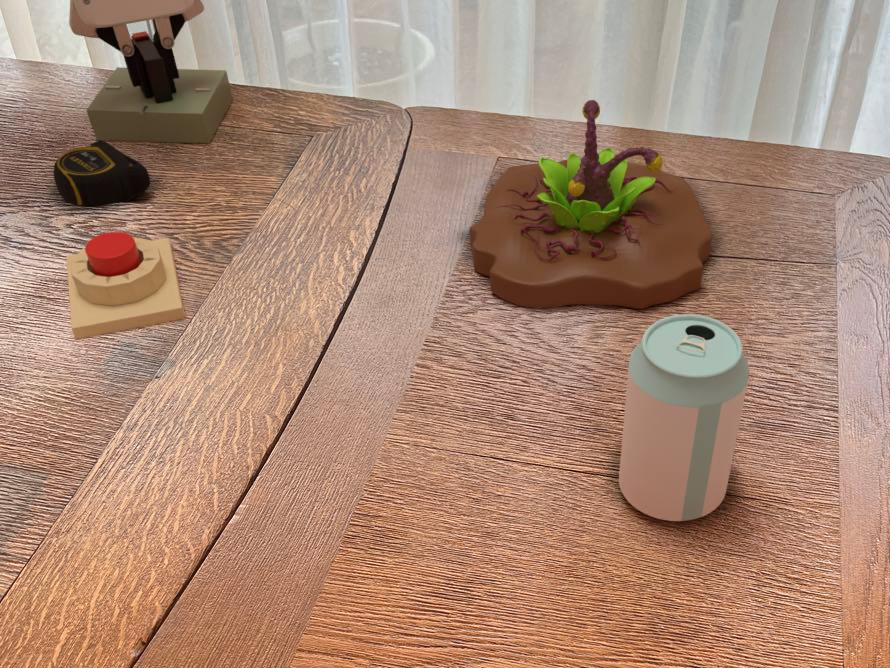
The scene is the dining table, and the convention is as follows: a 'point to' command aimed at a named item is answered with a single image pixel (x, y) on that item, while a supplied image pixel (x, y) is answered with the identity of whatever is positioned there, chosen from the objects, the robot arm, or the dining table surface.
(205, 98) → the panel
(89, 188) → the tape measure
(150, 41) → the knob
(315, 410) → the dining table surface
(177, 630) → the dining table surface
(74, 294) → the button box
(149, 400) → the dining table surface
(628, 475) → the can
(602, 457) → the dining table surface
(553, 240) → the plant
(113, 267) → the button
